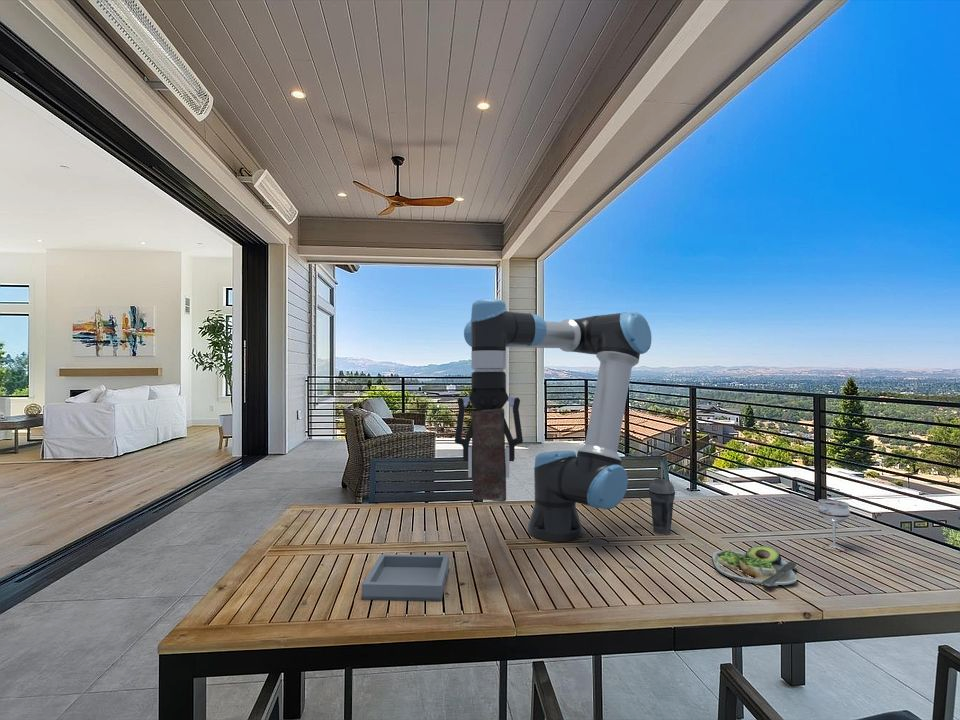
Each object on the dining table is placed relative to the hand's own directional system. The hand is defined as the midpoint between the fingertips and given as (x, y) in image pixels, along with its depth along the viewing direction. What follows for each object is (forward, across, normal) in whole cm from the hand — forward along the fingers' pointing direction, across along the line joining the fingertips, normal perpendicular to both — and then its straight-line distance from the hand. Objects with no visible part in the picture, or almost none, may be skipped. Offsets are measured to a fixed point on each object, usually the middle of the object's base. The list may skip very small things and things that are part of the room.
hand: (488, 476), depth 103 cm
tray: (+23, +17, 0) cm, 29 cm away
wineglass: (+24, -91, -25) cm, 97 cm away
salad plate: (+24, -62, -10) cm, 67 cm away
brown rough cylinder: (+5, 0, 0) cm, 5 cm away
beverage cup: (+24, -50, -36) cm, 66 cm away
